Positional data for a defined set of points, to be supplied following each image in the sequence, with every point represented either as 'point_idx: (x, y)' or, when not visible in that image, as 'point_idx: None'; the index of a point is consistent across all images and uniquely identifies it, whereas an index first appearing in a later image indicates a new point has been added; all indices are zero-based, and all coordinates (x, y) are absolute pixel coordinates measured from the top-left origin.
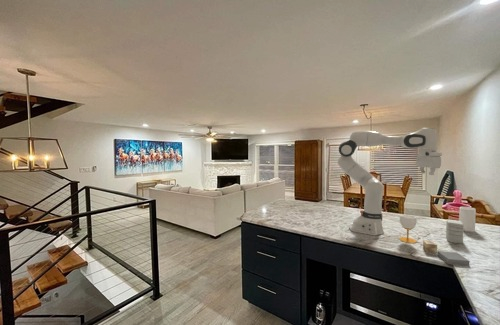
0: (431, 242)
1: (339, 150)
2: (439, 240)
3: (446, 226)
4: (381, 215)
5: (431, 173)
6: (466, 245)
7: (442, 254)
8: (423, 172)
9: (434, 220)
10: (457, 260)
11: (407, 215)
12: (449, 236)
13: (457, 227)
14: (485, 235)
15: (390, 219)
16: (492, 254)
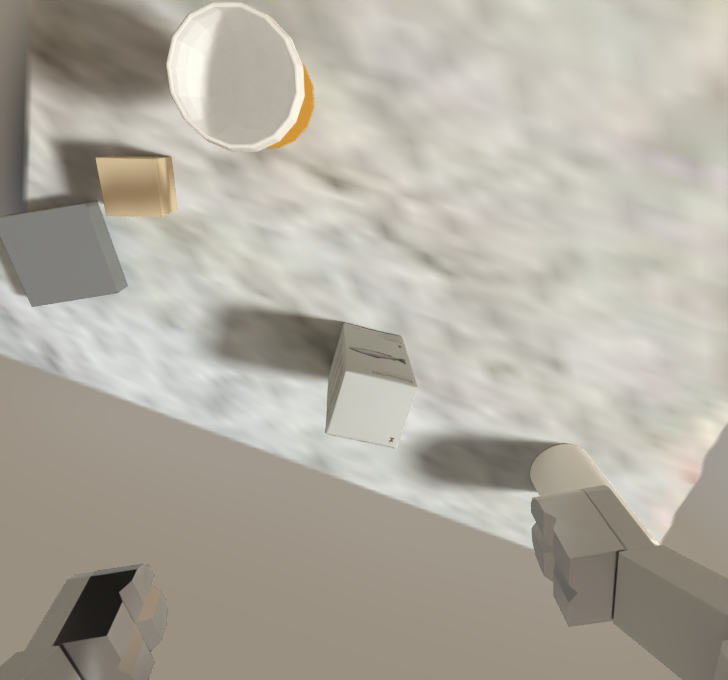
0: (134, 196)
1: None
2: (339, 287)
3: (394, 361)
4: None
5: (56, 626)
6: (314, 383)
7: (43, 212)
8: (547, 542)
9: (703, 379)
10: (12, 258)
11: (295, 91)
12: (341, 340)
13: (331, 399)
14: (487, 503)
15: (712, 89)
16: (242, 434)
